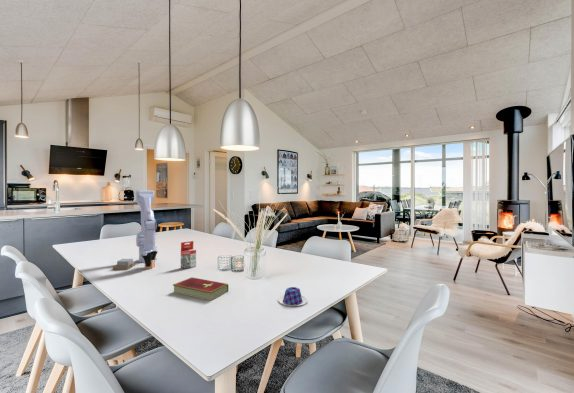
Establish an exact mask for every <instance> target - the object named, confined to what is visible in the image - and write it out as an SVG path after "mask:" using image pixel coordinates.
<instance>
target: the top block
mask: <svg viewBox="0 0 574 393" xmlns="http://www.w3.org/2000/svg"><path fill="white" fill-rule="evenodd" d="M132 263H134V259H133V258H121V259H119V260H117V262H116V265H117V266H129V265H130V264H132Z"/></svg>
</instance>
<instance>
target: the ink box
mask: <svg viewBox="0 0 574 393" xmlns="http://www.w3.org/2000/svg"><path fill="white" fill-rule="evenodd" d="M195 267H197V250H196V249H195V248H194V241H193V240H191V241H183V242H180V268H181V269H183V270H185V269H188V268H195Z"/></svg>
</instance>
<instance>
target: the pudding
mask: <svg viewBox="0 0 574 393" xmlns="http://www.w3.org/2000/svg"><path fill="white" fill-rule="evenodd" d="M284 292H285V293H284V294H283V295H282V296H280V297H279V298H278V300H277V301H278V302H279V303H280V304H281V305H283V306H288V307H299V306H302V305H306V304H307V303H308V298H307V297H305V296H304V295H302V292H301V289H300V288H299V287H296V286H294V287H293V286H291V287H287V288H286V289H285V291H284Z"/></svg>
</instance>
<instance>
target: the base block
mask: <svg viewBox="0 0 574 393" xmlns="http://www.w3.org/2000/svg"><path fill="white" fill-rule="evenodd" d="M135 265H136V262H133V263H132V264H130V265H129V266H117V264H115V265H113V266H112V271H116V270H117V271H126V270H127V271H128V270H130V269H132V268H134V267H135ZM133 266H134V267H133Z"/></svg>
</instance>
